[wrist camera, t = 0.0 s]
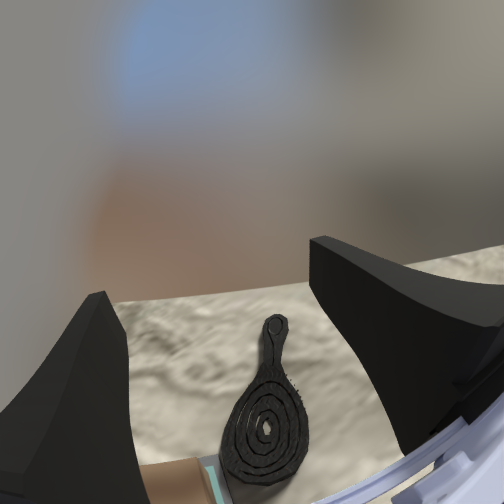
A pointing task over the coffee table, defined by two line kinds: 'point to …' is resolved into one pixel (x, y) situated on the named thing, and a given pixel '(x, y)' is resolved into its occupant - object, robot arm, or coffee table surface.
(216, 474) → the mat
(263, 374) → the hairbrush
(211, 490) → the walnut block
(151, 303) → the coffee table surface
